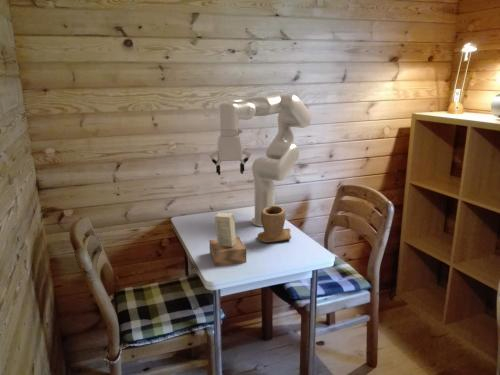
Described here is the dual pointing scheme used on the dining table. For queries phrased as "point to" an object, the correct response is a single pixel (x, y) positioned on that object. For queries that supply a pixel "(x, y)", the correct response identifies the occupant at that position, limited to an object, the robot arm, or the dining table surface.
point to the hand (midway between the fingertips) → (230, 173)
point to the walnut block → (227, 253)
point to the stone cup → (273, 225)
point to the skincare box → (225, 229)
